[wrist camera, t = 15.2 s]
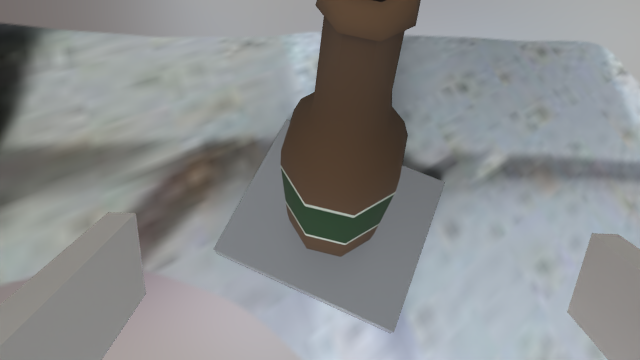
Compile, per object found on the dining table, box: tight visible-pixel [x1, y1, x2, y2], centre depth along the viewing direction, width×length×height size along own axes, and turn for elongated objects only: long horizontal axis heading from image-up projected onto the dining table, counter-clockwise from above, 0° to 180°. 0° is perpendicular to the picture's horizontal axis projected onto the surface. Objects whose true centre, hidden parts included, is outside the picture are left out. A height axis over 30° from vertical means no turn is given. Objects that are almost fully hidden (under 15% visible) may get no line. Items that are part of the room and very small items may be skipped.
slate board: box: [214, 120, 445, 333], centre depth 36 cm, size 16×14×2 cm
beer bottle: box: [281, 0, 420, 257], centre depth 24 cm, size 8×8×24 cm
